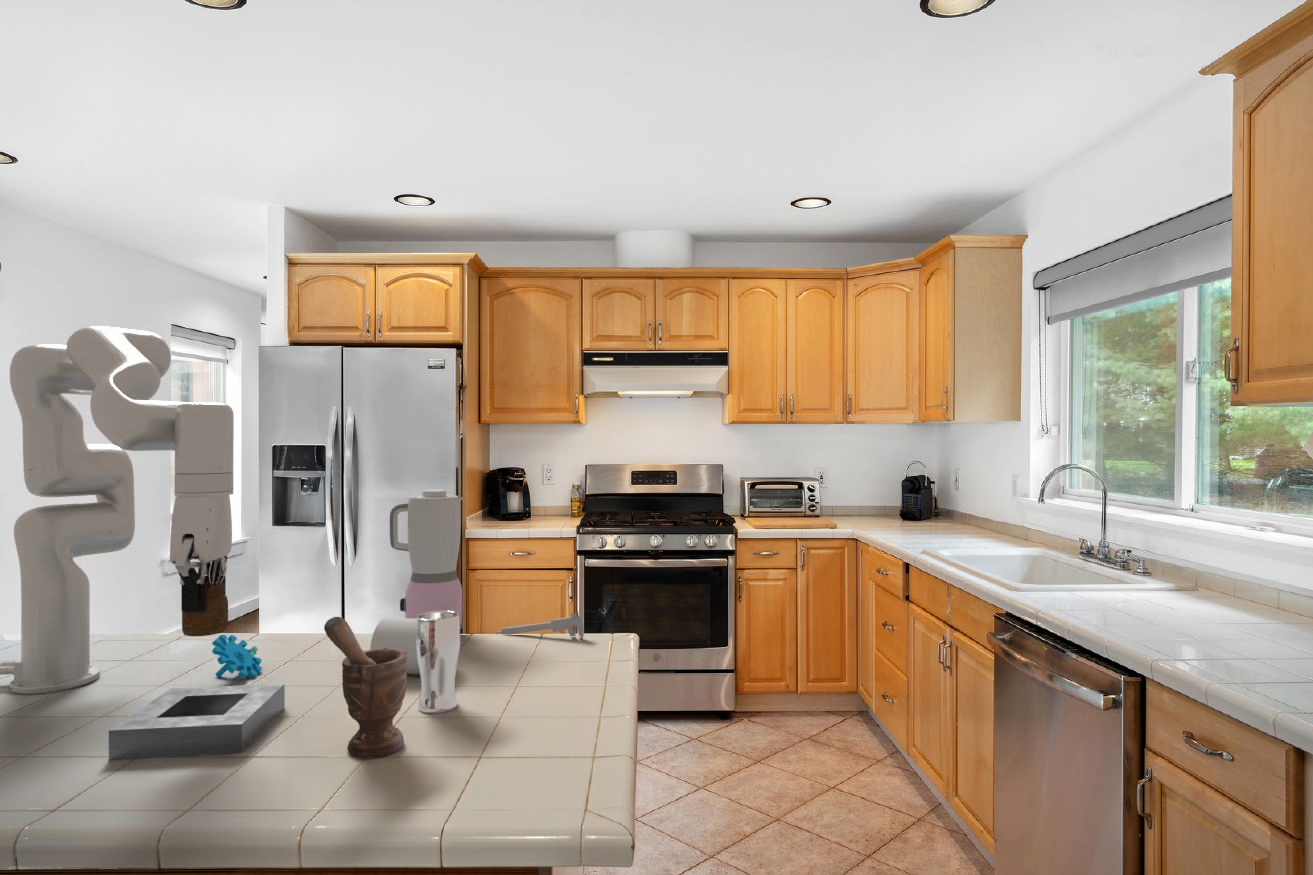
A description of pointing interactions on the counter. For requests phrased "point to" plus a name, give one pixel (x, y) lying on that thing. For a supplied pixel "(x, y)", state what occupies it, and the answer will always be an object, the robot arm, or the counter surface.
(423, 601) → the blender
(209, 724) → the hollow square block
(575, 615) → the caliper
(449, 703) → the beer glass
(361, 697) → the mortar and pestle
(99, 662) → the counter surface
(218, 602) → the utensil holder
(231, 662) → the gear
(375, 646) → the toilet paper
